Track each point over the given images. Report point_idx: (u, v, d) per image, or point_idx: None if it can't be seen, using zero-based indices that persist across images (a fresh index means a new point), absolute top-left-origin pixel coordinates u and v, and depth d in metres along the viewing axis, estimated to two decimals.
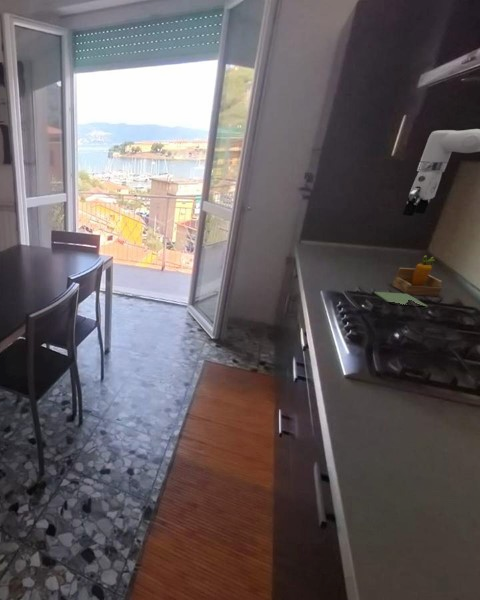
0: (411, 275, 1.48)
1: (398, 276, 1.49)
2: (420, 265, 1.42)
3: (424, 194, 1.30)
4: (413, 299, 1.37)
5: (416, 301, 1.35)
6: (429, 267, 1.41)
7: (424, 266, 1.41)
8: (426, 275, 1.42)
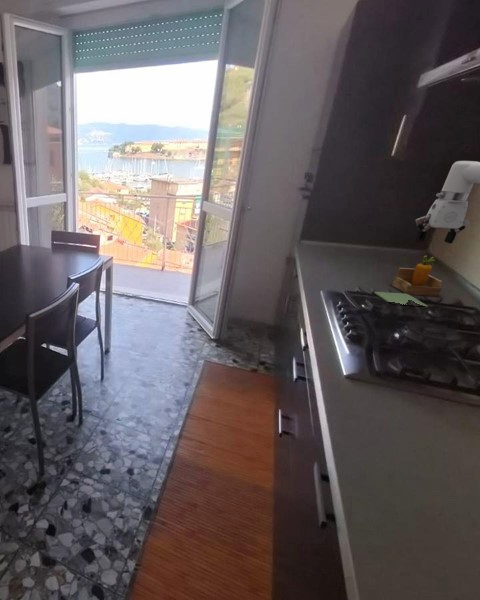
0: (411, 275, 1.48)
1: (398, 276, 1.49)
2: (420, 265, 1.42)
3: (432, 222, 1.34)
4: (413, 299, 1.37)
5: (416, 301, 1.35)
6: (429, 267, 1.41)
7: (424, 266, 1.41)
8: (426, 275, 1.42)
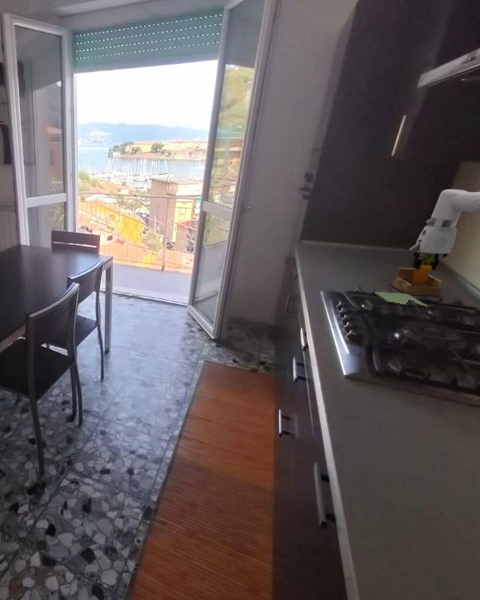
0: (411, 275, 1.48)
1: (398, 276, 1.49)
2: None
3: (422, 247, 1.38)
4: (413, 299, 1.37)
5: (416, 301, 1.35)
6: (429, 267, 1.41)
7: (424, 266, 1.41)
8: (426, 275, 1.42)
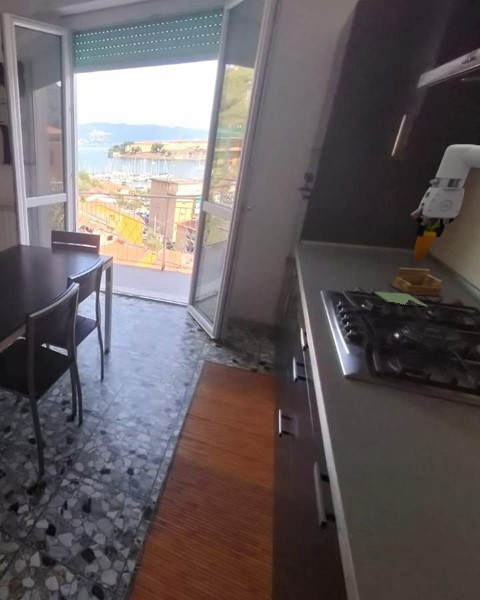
0: (411, 275, 1.48)
1: (398, 276, 1.49)
2: None
3: (426, 211, 1.24)
4: (413, 299, 1.37)
5: (416, 301, 1.35)
6: (433, 234, 1.27)
7: (428, 233, 1.27)
8: (430, 243, 1.28)
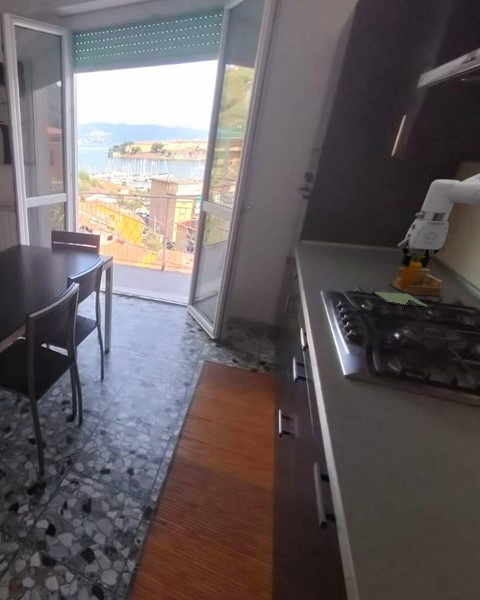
0: None
1: (398, 276, 1.49)
2: None
3: (412, 243, 1.27)
4: (413, 299, 1.37)
5: (416, 301, 1.35)
6: (419, 264, 1.30)
7: (414, 263, 1.31)
8: (416, 273, 1.31)
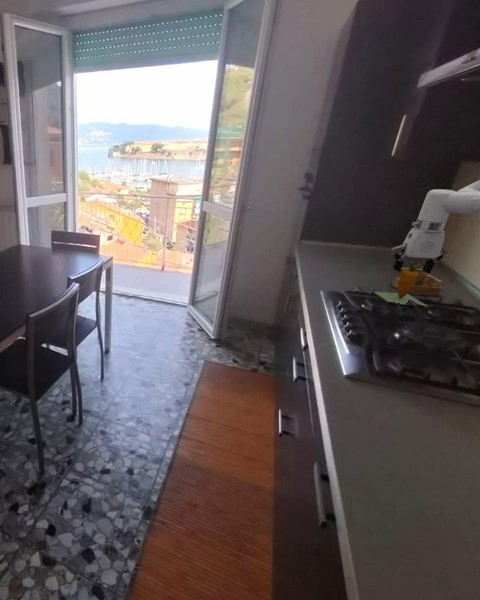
0: None
1: (398, 276, 1.49)
2: (406, 271, 1.33)
3: (408, 251, 1.29)
4: (413, 299, 1.37)
5: (416, 301, 1.35)
6: (415, 274, 1.32)
7: (410, 273, 1.32)
8: (412, 282, 1.33)
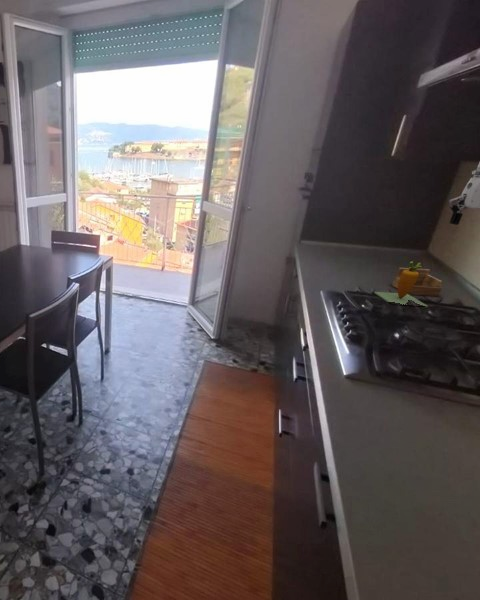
0: None
1: (398, 276, 1.49)
2: (406, 271, 1.33)
3: (469, 202, 1.22)
4: (413, 299, 1.37)
5: (416, 301, 1.35)
6: (415, 274, 1.32)
7: (410, 273, 1.32)
8: (412, 282, 1.33)
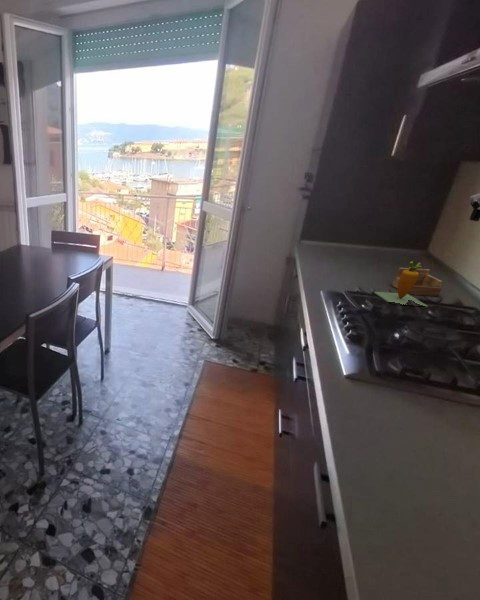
0: None
1: (398, 276, 1.49)
2: (406, 271, 1.33)
3: None
4: (413, 299, 1.37)
5: (416, 301, 1.35)
6: (415, 274, 1.32)
7: (410, 273, 1.32)
8: (412, 282, 1.33)
